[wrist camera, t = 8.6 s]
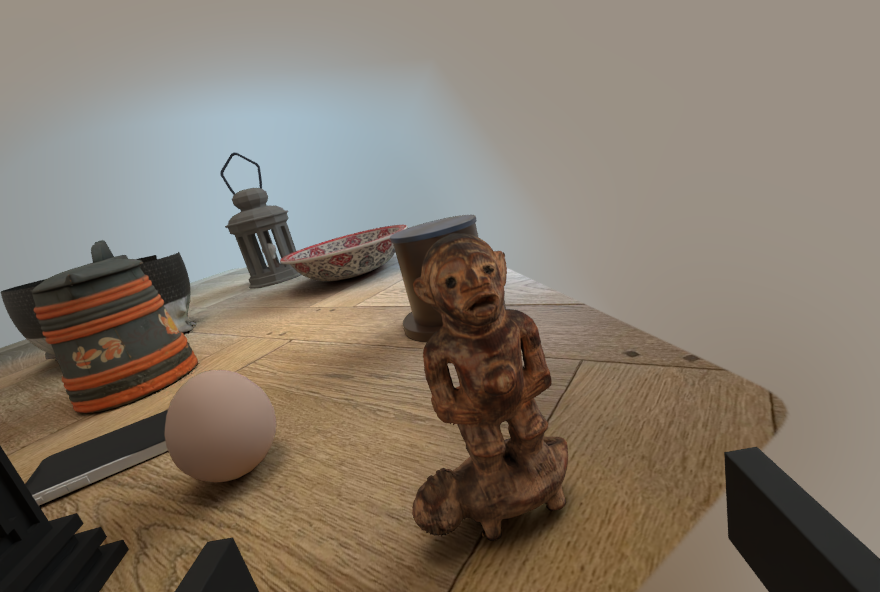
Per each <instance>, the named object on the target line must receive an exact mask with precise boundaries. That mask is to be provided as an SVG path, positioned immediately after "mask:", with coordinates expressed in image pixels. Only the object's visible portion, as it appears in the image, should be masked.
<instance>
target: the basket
mask: <svg viewBox="0 0 880 592" xmlns="http://www.w3.org/2000/svg"><path fill="white" fill-rule="evenodd" d="M135 260H140V261H142V262H143V264H141V265H138V266H139V267H140V268H141V270H142V271H143V273H144V274H145V275H147V276H148V277H149V280H151V282H152V285H153V286H154V287H155V289H156V290H157V291H158V294H159V295H160V296H161V298H162V299H163V300H164V304H163V305H164V307H165V309H166V310H167V312H168V313H169V315H170V316H171V318H172V320H173V322H174V323H175V325H176V326H177V328H178V330H179V331H180V332H182V333H184V332H187V331H190V330H192V328H193V327H192V325H195V324H196V323H194V322H190V323H189V319H188V317H187V315H188V309H189V303H190V282H189V277H188V273H187V271H186V267H185V265H184V262H183V260H182V258H181V255H180V253H179V252H178V253H176V254H175V255H171V256H169V257H165V258H161V259H157V258H156V255H154V256H149V257H145V258H139V259H135ZM45 280H46V279H45ZM45 280H40V281H37V282H33V283H29V284H25V285H21V286H17V287H14V288H11V289H7V290H4V291H1V294H2V298H3V302H4V304H5V307H6V310H7V312H8V314H9V316H10V318H11V319H12V321H13V323H14V324H15V326H16V327H17V328H18V330H19V331H20V332H21V333H22V335H23V336H24V337H25V338H26V339H27V340H29V341H30V342H31V343H32V344H33V345H35V346H36V347H38V348H39V349H41V350H43V351H45V352H46V353H45V355H46V356H45V357H46V359H55V358H56V355H55V353H54V351H53V348H52V346H51V344H48V343H47V342H46V340H45V339H46V337H45V336H44V335H43V330H42V329H41V325H40V324H39V319H38V318H37V317H36V313H35V312H34V308H35V306H36V305H35V302H34V298H33V294H32V290H33V289H34V288H35V287H36V286H38V285H39V284H40V283H42V282H43V281H45ZM56 360H57V358H56Z"/></svg>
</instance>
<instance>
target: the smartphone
mask: <svg viewBox="0 0 880 592" xmlns="http://www.w3.org/2000/svg"><path fill="white" fill-rule="evenodd" d="M167 412H168V410H167V411H164V412H161V413H159V414H156V415H154V416H151V417H149V418H146V419H143V420H141V421H138V422H136V423H133V424H131V425H128V426H125V427H123V428H120V429H118V430H115V431H113V432H110V433H107V434H105V435H102V436H100V437H97V438H95V439H92V440H89V441H87V442H84V443H82V444H79V445H77V446H74V447H72V448H69V449H66V450H64V451H61V452H59V453H56V454H54V455H51V456H49V457H47V458H46V459H44V460H43V461H42V462H41V463H40V465H39V466H38V468H37V469H36V470H35V472H34V473H33V474H32V476H31V477H30V478H29V480H28V481H27V483H26V484H25V485H26V487H27V488H28V490H29V491H30V493H31V494H32V496H33V498H34V499H35V501H36V502H37V504H38V505H41V504H44V503H46V502H48V501H51V500H53V499H55V498H58V497H60V496H63V495H65V494H67V493H70V492H72V491H74V490H77V489H79V488H81V487H84V486H86V485H88V484H91V483H93V482H95V481H98V480H100V479H103V478H105V477H107V476H110V475H112V474H114V473H117V472H119V471H121V470H124V469H126V468H128V467H131V466H133V465H135V464H138V463H140V462H143V461H145V460H147V459H150V458H152V457H154V456H157V455H159V454H161V453H164V452H166V451H168V449H167V446H166V440H165V424H166V415H167Z"/></svg>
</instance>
